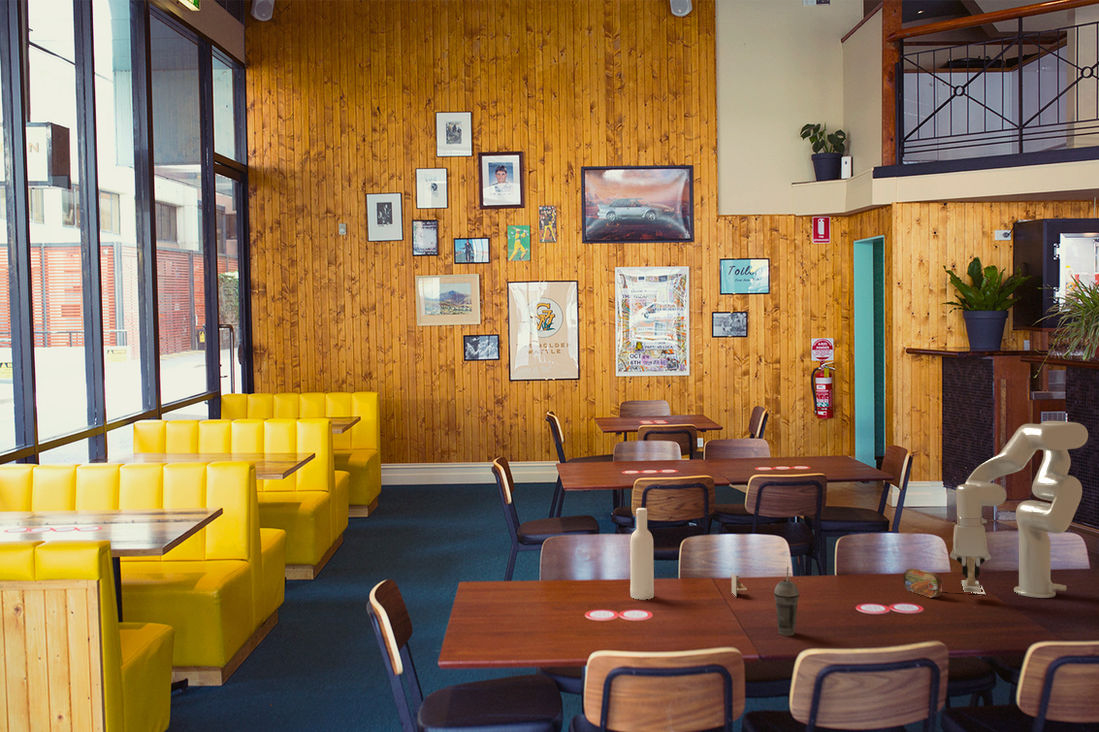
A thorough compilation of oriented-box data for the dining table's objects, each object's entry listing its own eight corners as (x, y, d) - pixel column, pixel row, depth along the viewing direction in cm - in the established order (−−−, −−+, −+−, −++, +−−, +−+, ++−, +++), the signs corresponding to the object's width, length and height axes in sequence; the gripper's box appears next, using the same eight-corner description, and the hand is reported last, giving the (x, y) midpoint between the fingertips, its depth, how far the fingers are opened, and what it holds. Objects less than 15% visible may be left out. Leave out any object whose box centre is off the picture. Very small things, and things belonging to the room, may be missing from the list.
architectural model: (741, 594, 322) (741, 572, 321) (746, 599, 315) (746, 577, 314) (731, 594, 321) (731, 573, 321) (736, 600, 314) (736, 578, 314)
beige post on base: (978, 584, 313) (977, 551, 312) (980, 592, 306) (980, 559, 305) (961, 583, 315) (961, 551, 314) (964, 591, 307) (963, 558, 306)
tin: (902, 590, 324) (902, 566, 324) (909, 589, 325) (909, 565, 325) (937, 600, 310) (937, 575, 310) (943, 599, 312) (943, 574, 312)
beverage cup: (795, 629, 279) (795, 562, 279) (802, 637, 272) (802, 568, 271) (771, 629, 279) (770, 563, 278) (777, 637, 271) (777, 568, 271)
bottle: (645, 601, 311) (645, 511, 311) (625, 597, 316) (625, 509, 316) (658, 596, 318) (657, 508, 317) (638, 592, 323) (638, 506, 322)
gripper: (994, 520, 310) (996, 575, 311) (942, 519, 315) (943, 573, 316) (997, 525, 303) (999, 581, 303) (944, 523, 308) (945, 579, 309)
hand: (970, 576), depth 310 cm, fingers closed on beige post on base
